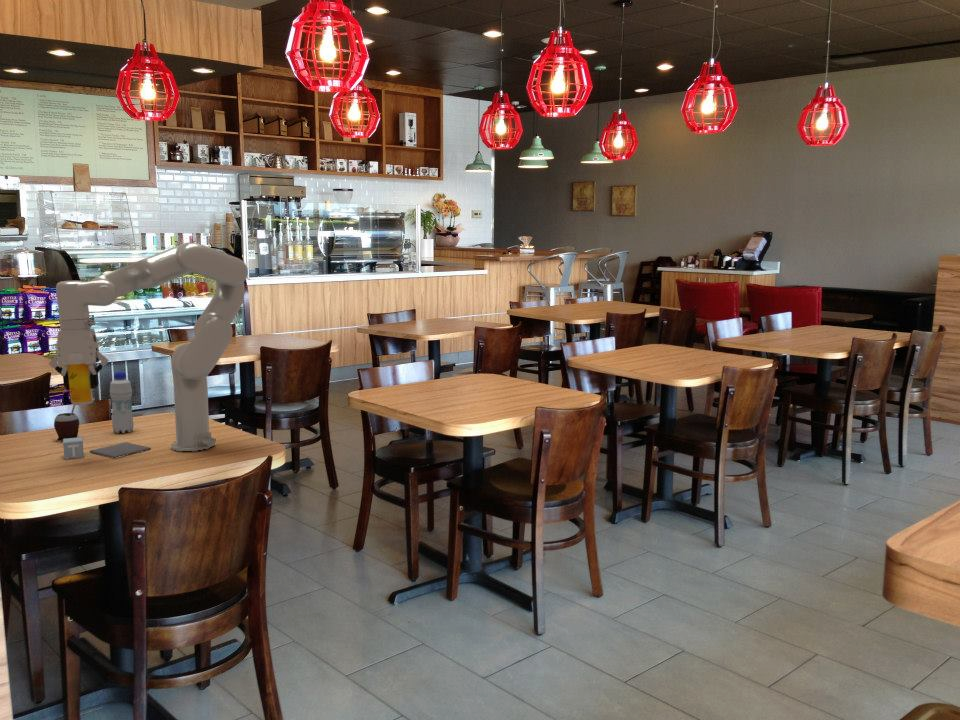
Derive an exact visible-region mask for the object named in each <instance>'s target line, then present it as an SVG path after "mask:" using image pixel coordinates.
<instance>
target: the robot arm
mask: <svg viewBox="0 0 960 720" xmlns="http://www.w3.org/2000/svg"><path fill="white" fill-rule="evenodd" d="M248 270H249V269H248V267H247V265H246V263H245V262H244V261H243V260H242V259H241V258H238V257H235V256H233V255H231V254H229V253H224V252H222V251H219V250H216V249H214V248H211V247H209V246H206V245H204V244H201V243H198V242H185V243H184V242H183V243H182V244H178V245H176V246H174V247H171V248H168V249H166V250H163V251H161V252H158V253H156V254H153V255H150V256H147V257H144V258H142V259H139V260H137V261H135V262H133V263H131V264H128V265H125V266H123V267H120V268H117V269H114V270H112V271H109V272H108V273H107V272H106V273H104V274H102V275H99V276H97V277H95V278H93V279H90V280H89V281H83V280H64V281H63V280H62V281H59V282H58V283H57V284H56V285H55V289H56V291H55V292H56V299H57V308H58V309H57V310H58V320H59V329H60V330H58V332H57V341H56V354H55V356H54V357H53V358H52V359H51V360H50V361H49V363H48V365H49V366H50V367H52V368H53V369H54V370H55V371H56V372H57V373H59V374H60V375H61V377H62V380H63V387H64V388H65V391H70V390H69V380H68V371H67V366H68V356H69V354H70V353H71V352H79V353H80V354H81V355H83V358H84V361H85V364H86V365H88V367H89V369H90V371H91V375H90V381H91V389H97V387H98V386H99V373H100V372H101V370H103V368H104V367H105V366H106V365H107V364H108V363H109V361H110V360H109V358H107V357H106V356H105V355H103V354H102V353H101V352H100V347H99V342H98V339H97V335H96V332H95V331H96V330H95V329H94V328H91V327H92V326H96V320H93V319H91V317H90V312H89V306H95V307H106V306H107V307H108V306H110V305H113V304H114V303H115V301H117V299H118V298H120V297H122V296H125V295H126V294H130V293H132V292H136V291H139V290H144V289H152V288H156V287H158V286H161V285H163V284H166V283H168V282H171V281H172V280H175V279H178V278H180V277H183V276H185V275H188V274H191V273H193V274H197V275H199V276H201V277H204V278H207V279H210V280H213V281H214V282H215V284H216V285H215V286H216V287H215V288H216V289H215V292H214V294H213V296H212V298H211V300H210V301H209V303H208V304H207V305H206V307H205V309H203V312H202V313H201V315H200V316H199V317H198V318H197V320H196V322H195V323H194V326H193V335H194V337H193V339H191V341H190V342H189V343H183V344H181V345H179V346H177V347H176V348H175V349H174V351H173V353H172V355H171V359H170V360H171V361H170V363H171V372H172V379H173V380H172V381H173V394H174V395H173V396H174V399H173V400H174V416H175V418H174V419H175V437H176V438H175V439H176V441H174V442H172V443H171V445H170V448H171V450H173V451H175V450H176V452H182V451H192V452H199V451H198V450H201V451H204V450H203V449H206V450H208V449H207V448H210V447H212V446H214V445H215V446H216V441H217V439H216V438H215V437H212V432H210V420H209V419H210V415H209V413H210V412H209V394H208V393H209V390H208V377H207V376H208V375H209V374H210V373H211V372H212V371H213V369H214V368H215V367H216V365H217V363H218V362H219V360H220V359H221V357H222V356H223V355H224V353H225V352H226V350H227V348H228V347H229V345H230V343H231V341H232V338H233V327H232V322H233V321H234V319H235V318H236V317H237V314H238V312H239V311H240V309H241V307H242V306H243V302H244V299H245V293H246V290H245V281H246V279H247V277H248V273H249V271H248ZM99 362H100V363H99ZM97 363H99V364H98V365H97ZM215 446H214V447H215ZM212 448H213V447H212ZM210 449H211V448H210Z"/></svg>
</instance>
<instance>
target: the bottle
mask: <svg viewBox="0 0 960 720" xmlns="http://www.w3.org/2000/svg"><path fill="white" fill-rule="evenodd" d="M113 376H114V379H113V380H112V381H111V382H110V383H109V384H110V385H109V395H110V396H109V397H110V400H111V411H112V412H111V413H112V414H111V415H112V416H111V417H112V419H111V420H112V423H111V425H112V426H111V427H112V431H113V432H114V433H116V434H118V433H119V434H123V433H124V434H125V433H127V434H128V433H130V432H133V430H134V416H133V405H132V395H133V389H132V383H131V381H130V380H128V379H127V378H126V377H127V375H126V373H125V371H117V372H114V374H113ZM120 432H121V433H120Z"/></svg>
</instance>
